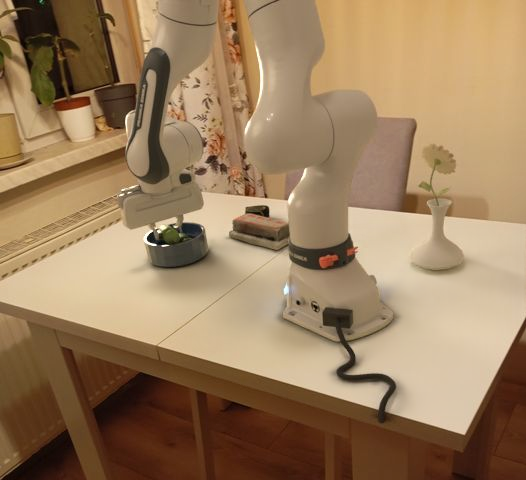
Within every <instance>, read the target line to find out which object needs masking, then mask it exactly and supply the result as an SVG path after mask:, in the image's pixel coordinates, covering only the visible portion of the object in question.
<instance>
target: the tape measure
mask: <svg viewBox="0 0 526 480" xmlns="http://www.w3.org/2000/svg"><path fill="white" fill-rule="evenodd" d="M244 210H245V212H244V214H255V215H259V216H263V217H267V218H270V211H271V210H270V207H269V206H268V205H265V204H262V205H261V204H259V205H251V206H245V209H244Z"/></svg>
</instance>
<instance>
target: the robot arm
mask: <svg viewBox="0 0 526 480" xmlns="http://www.w3.org/2000/svg"><path fill="white" fill-rule="evenodd" d="M243 4H244V8H245V9H244V10H245V12H246V16H247V20H248V24H249V27H250V31H251V35H252V39H253V43H254V47H255V52H256V57H257V61H258V66H259V73H260V74H259V75H260V84H259V85H260V87H259V94H258V99H257V103H256V106H255V109H254V111H253V113H252V115H251V117H250V118H249V120H248V121H247V123H246V127H245V129H244V135H243V147H244V151H245V154H246V156H247V159H248V161H249V162H250V164H251V165H252V166H253V167H254V169H256V170H257V171H258V172H259V173H261V174H263V175H266V176H273V175H274V176H275V175H287V174H288V175H289V174H293V173H296V172H299V171H302V170H303V173H302V176H301V178H300V180H299V182H298V183H297V185H295V187H294V188H293V190H292V191H291V192H290V194H289V196H288V199H287V202H286V203H287V204H286V209H287V218H288V219H287V220H288V221H287V222H288V223H289V231H290V238H289V240H288V244H287V248H288V249H287V251H288V255H289V257H288V258H289V260H290V261H291V262H290V267H289V270H288V272H287V275H286V284H285V287H284V288H283V294H284V295H286V306H285V308H284V309H283V311H282V318H283V319H285V320H287V321H289V322H291V323H293V324H295V325H297V326H300V327H303V328H304V329H307V330H309V331H311V332H313V333H315V334H317V335H320V336H323V337H324V338H326V339H328V340H330V341H332V342H333V341H334V342H337V343H339V342H340V343H341V345H342V346H343V348H344V350H345V351H346V352H347V353H348V354H349V360H348V361H347V362H346V363H344V364H342V365H340V366H339V367H338V368H337V369H336V370H335V371H336V376H337V377H339V378H340V379H341V380H344V381H349V382H355V381H369V380H381V381H383V382H386V383H387V384H388V385H389V387H388V389H387V391H386V392H385V393H384V395H383V397H382V398H381V400H380V402H379V406H378V412H377V414H378V415H377V418H378V419H377V421H378V423H380V424H385V422H386V408H387V404H388V402H389V401H390V399H391V397H392V396H393V395H394V393H395V391H396V390H397V385H396V384H397V383H396V381H394V379H392V377H391V376H389V375H387V374H384V373H378V372H376V373H375V372H372V373H371V372H370V373H361V374H346V373H344V372H345V371H346V370H348V369H350V368H352V367H353V365H355V363H356V359H357V357H356V353H355V351H354V349H353V348H352V347H351V345H350V344H349V342H348V341H353V340H356V339H360V338H364V337H366V336H369V335H372V334H373V333H375V332H377V331H379V330H381V329H383V328H385V327H386V326H388V325H389V324H390V323H391V322H393V319H394V318H395V315H394V312H393V311H392V310H391V309H390V308H389V307H388V306H386V305H385V304H384V303H383V302H382V301H381V295H380V290H379V288H378V286H377V278H376V276H375V275H374V274H369V273H368V272H367V271H366V269H365V268H364V267H363V265H362V264H361V263H360V261H359V260H358V259H357V257H356V256H357V255H356V254H357V253H359V251H358V250H357V249H359V246H355V247H354V241H353V240H352V239H353V238H352V236H351V233H350V232H349V197H350V190H351V185H352V181H353V178H354V174H355V171H356V168H357V165H358V163H359V160H360V158H361V156H362V155H363V152H364V150H365V149H366V148H367V146H368V144H369V143H370V142H371V141H372V140H373V138H374V137H375V134H376V133H377V129H378V112H377V108H376V106H375V103H374V102H373V100H372V98H371V97H370V96H369V95H368V94H367V93H366V92H364V91H363V90H359V89H333V90H330V91H326V92H321V93H318V94H313V95H312V90H311V77H312V72H313V70H314V68H315V67H316V66H317V65H318V64H319V63H320V62H321V60H322V59H323V55H324V53H325V49H326V40H325V35H324V33H323V28H322V24H321V19H320V16H319V12H318V7H317V2H316V0H243ZM219 5H220V0H158V6H157V18H156V25H155V30H154V35H153V39H152V42H151V45H150V47H149V50H148V52H147V53H146V55H145V58H144V60H143V62H142V63H143V64H142V67H141V72H140V76H139V83H138V89H137V90H138V91H137V96H136V102H135V103H136V104H135V109H134V110H131V111H129V112H128V113H127V114H126V116H125V129H126V137H127V143H126V147H125V163H126V165H127V167H128V170H129V171H130V173H131V174H132V175H133V176H134V177H135V178H136V180H137V184H138V185H137V184H136V185H134V186H131V187H128V188H123V189H121V190H120V192H118V193H117V195H116V202H117V203H116V204H117V206H118V208H119V209H120V215H121V221H122V224H123V226H124V227H125V228H126V229H128V230H130V231H133V230H136V229H140V228H142V227H146V226H147V228H148V229H150V231H153V232H154V235H155V238H156V240H160V239H163V236H162V232H161V231H159V230H158V231H156V230H155V229H156V228H157V225H156V223H159V222H163V221H166V220H170V219H173V218H175V219H176V222H175V223H176V225H175V226H173V229H174V230H176V231H177V232H178V233H182V229H181V226H182V223H183V222H184V220H185V218H184V215H186V214H189V213H193V212H197V211H200V210H202V209H203V207H204V205H205V203H204V197H203V193H202V190H201V187H200V185H199V184H198V183H197V182H195V181H196V173H195V172H193V171H191V170H189V169H187V168H189V167H192V166H193V165H195V164H197V163H198V162H200V161H201V159H202V157H203V154H204V148H205V147H204V141H203V140H204V139H203V137H202V135H201V133H200V132H201V131H199V129H198V128H197V127H196V125H194V124H193V123H191V122H189V121H185V120H179V119H177V118H175V117H172V116H170V115H168V107H169V103H170V99H171V97H172V96H173V95H172V94H173V93H174V91H175V89H176V88H177V87H178V85H180V83H181V82H183V80H184V79H186V78H187V77H188V76H189V75H190V74H192V73H193V72H194V71H195V70H197V69H198V68H199V67H200V66H202V65H203V64H204V63H206V61H207V60H208V59H209V57H210V56H211V53H212V50H213V47H214V44H215V40H216V35H217V26H218V19H219V18H218V17H219Z"/></svg>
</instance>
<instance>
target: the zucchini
mask: <svg viewBox="0 0 526 480" xmlns="http://www.w3.org/2000/svg"><path fill="white" fill-rule="evenodd" d="M179 236H180V239H179V242H178V243H177V244H179V243H183V242H186V241H189V240H192V238H190V237H189V236H187V235H186V234H184V233H179Z"/></svg>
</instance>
